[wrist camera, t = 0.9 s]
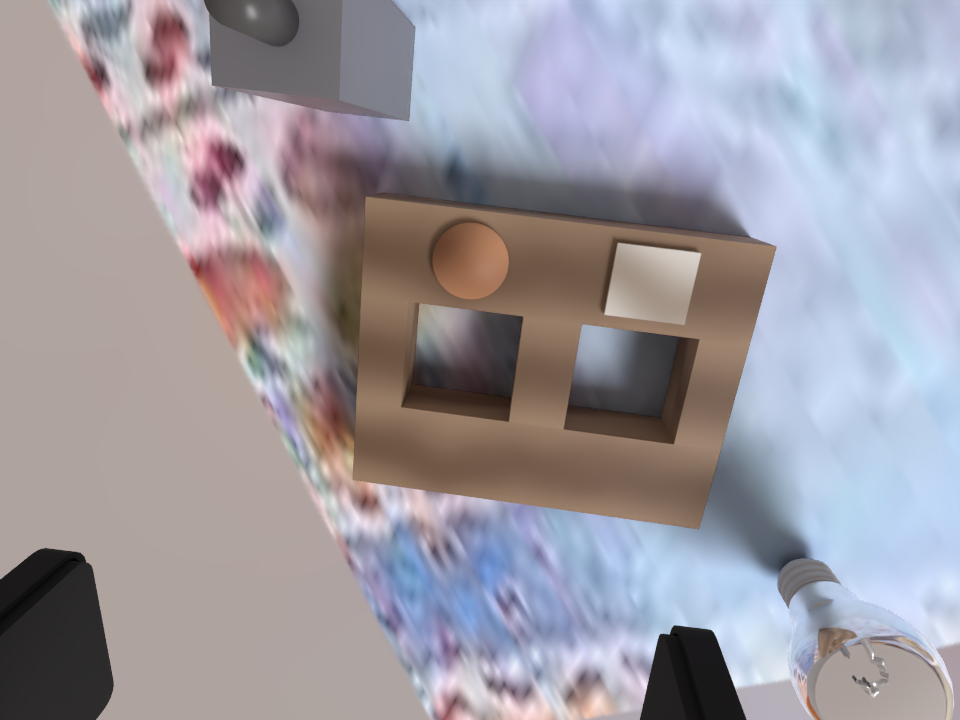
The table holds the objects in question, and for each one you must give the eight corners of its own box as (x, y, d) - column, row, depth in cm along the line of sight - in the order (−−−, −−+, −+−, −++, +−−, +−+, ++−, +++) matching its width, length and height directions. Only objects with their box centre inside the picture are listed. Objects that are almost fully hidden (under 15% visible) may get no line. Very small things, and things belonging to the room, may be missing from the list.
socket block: (382, 192, 32) (364, 197, 29) (751, 237, 32) (779, 247, 28) (368, 451, 38) (351, 482, 34) (683, 496, 37) (700, 532, 33)
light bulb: (716, 575, 39) (793, 749, 27) (792, 501, 36) (910, 655, 25) (798, 628, 39) (906, 818, 28) (878, 558, 37) (1029, 733, 26)
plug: (329, 17, 30) (148, -108, 16) (415, 27, 30) (309, -92, 16) (327, 111, 31) (159, 73, 17) (409, 121, 31) (307, 90, 17)
